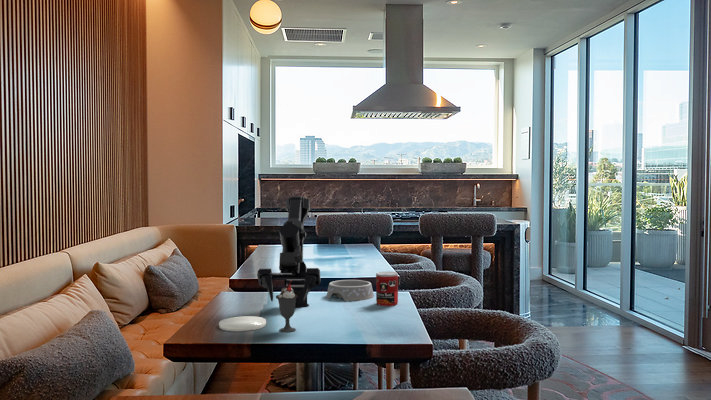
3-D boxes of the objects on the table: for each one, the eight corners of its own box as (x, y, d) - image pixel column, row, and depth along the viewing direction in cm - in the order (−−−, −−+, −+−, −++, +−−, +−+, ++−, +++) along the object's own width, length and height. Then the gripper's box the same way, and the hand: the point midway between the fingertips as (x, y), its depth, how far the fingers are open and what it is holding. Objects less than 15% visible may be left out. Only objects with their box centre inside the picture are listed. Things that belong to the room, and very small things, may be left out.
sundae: (295, 333, 165) (294, 281, 164) (273, 332, 166) (272, 281, 165) (301, 327, 171) (301, 277, 171) (280, 326, 172) (279, 277, 172)
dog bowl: (344, 290, 231) (344, 277, 231) (382, 295, 220) (382, 281, 220) (317, 298, 217) (317, 283, 217) (356, 303, 206) (356, 288, 206)
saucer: (257, 318, 184) (257, 314, 184) (272, 327, 172) (272, 323, 171) (214, 323, 177) (214, 319, 177) (226, 333, 165) (225, 329, 165)
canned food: (373, 305, 202) (372, 274, 201) (380, 300, 209) (380, 270, 209) (393, 307, 199) (393, 275, 198) (400, 302, 206) (400, 272, 206)
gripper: (257, 242, 173) (252, 284, 162) (319, 241, 173) (317, 284, 163) (262, 264, 181) (256, 306, 170) (321, 263, 181) (319, 305, 171)
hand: (287, 300), depth 168 cm, fingers open, 9 cm apart
